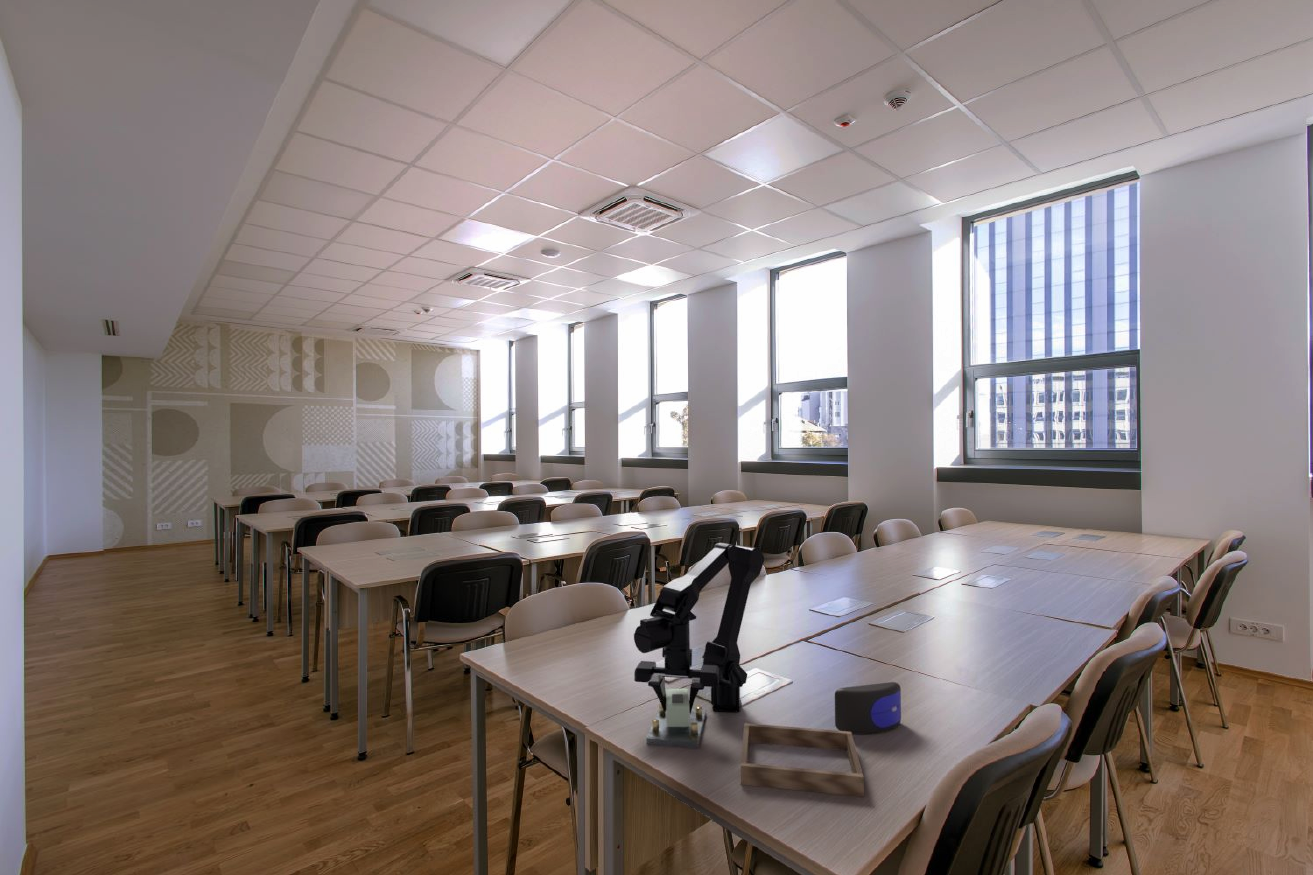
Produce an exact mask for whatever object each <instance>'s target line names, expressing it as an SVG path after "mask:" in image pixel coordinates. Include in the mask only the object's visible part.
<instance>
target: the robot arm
mask: <svg viewBox="0 0 1313 875" xmlns="http://www.w3.org/2000/svg"><path fill="white" fill-rule="evenodd" d="M764 563H765V555H764V554H763V552H762V550H761V549H760V548H759V547H754V546H746V545H740V544H737V545H734V544H731V543H726V542H718V543H716V544H714V546H713V548H712V550H710V551H709V552H708V553H707V554H706V555H705V556H704V557H703V558H702V559H701V560H700V561H699V562H698V563H697V564H695V565H694V567H693V568H692V569H690V570H689V571H688V572H687V573H686V574H685V575H683V576H680V577H678V578H674V579H673V580H671V581H670V582H668V583H666V584H665V585H664V586H663V587H661V589H660V591H659V595H658V598H657V599H656V601H655V603H654V606H653V607H652V609H651V611H650V613H649V618H643V619H640V621H639V623H640V624H639V626H638V625H637V627H636V629H635V631H634V633H633V642H634V644H635V646H636V648H637V650H638V651H639V652H640V653H642V654H647V653H652V652H653V651H656V650H660V649H661V650H662V652H661V655H662V658H664V667H661V666H657V662H656V661H650V660H641V661H640V662H639V663H638V664H637V665H636V667H635V669H634V678H633V680H634V681H635V683H647V685H648V687H651V688H652V689H653V691H654V693H655V694H656V696H657V698H658V700H659V704H661V705H662V707H663V710H664V712H666V678H674V679H675V678H676V679H677V678H678V679H679V678H680V679H689V680H691V684H690V687H689V710H690V714H691V711H692V708H694V707H693V706H694V704H695V700H696V697H697V696H698V693H699V691H701V690H702V691H703V690H704V689H705V687H709V688H710V704H711V705H712V711H717V712H728V713H729V712H730V713H740V712H741V706H742V705H741V704H742V699H741V688H742V687H743V685H744V684H746V683H747V679H748V673H747V672H746V671H745V670H744V668H742V666H741V665H740V662H741V653H740V649H739V646H738V640H739V639H738V638H739V635H740V630H741V626H742V622H743V618H744V614H745V610H746V605H747V601H748V598H749V594H750V588H751V586H752V583H753V582H754V581H756V579H757V578H758V577H759V576H760V574H761V571H762V568H763V566H764ZM726 566H728V567H727V568H728V572H729V574H730V583H729V586H728V591H727V594H726V598H725V603H724V605H723V606H724V607H723V611H722V615H721V619H720V623H719V627H718V631H717V635H716V637H714V639H713V640H712V641H707V642H706V643H705V648H704V652H703V655H702V657H701V658H702V659H703V660H702V665H701V668H700V669H691V667H692V665H693V649H692V648H691V646H690V643H691V642H690V640H691V638H690V630H691V629H690V622H691V621H693V620H696V619H697V615H695V614H694V613H693V612H692V610H693V608H694V607H695V605H696V604H697V603H698V602H699V598H700V594H701V591H702V590H703V589H704V588H705V587H706V586H707V585H708V584H710V582H711V581H712V580H713V579H714V578H715V577H716V576H717V575H718V574H719V573H720V572H721V571H722V570H723V569H724V568H725V567H726ZM665 610H666V611H665ZM669 611H670V612H669ZM671 612H673V613H671Z"/></svg>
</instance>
